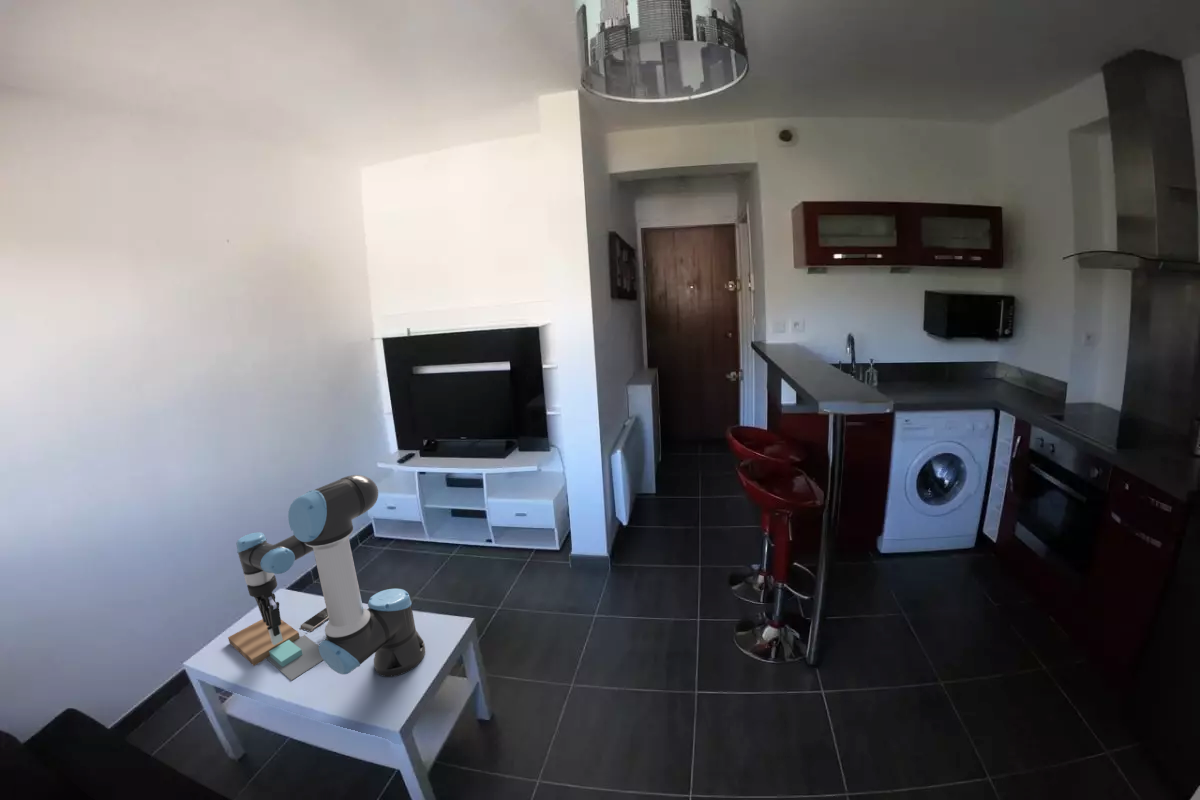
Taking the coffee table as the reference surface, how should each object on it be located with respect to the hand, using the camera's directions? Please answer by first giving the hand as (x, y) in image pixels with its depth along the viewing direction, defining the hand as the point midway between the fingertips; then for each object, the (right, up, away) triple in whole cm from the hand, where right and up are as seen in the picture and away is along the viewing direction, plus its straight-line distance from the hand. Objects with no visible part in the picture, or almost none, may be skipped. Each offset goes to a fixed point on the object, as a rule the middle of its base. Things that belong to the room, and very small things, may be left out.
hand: (277, 641), depth 156 cm
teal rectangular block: (+4, -4, -2) cm, 6 cm away
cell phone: (+5, 0, +15) cm, 16 cm away
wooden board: (-9, -3, +6) cm, 11 cm away
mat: (+9, -4, -2) cm, 10 cm away
